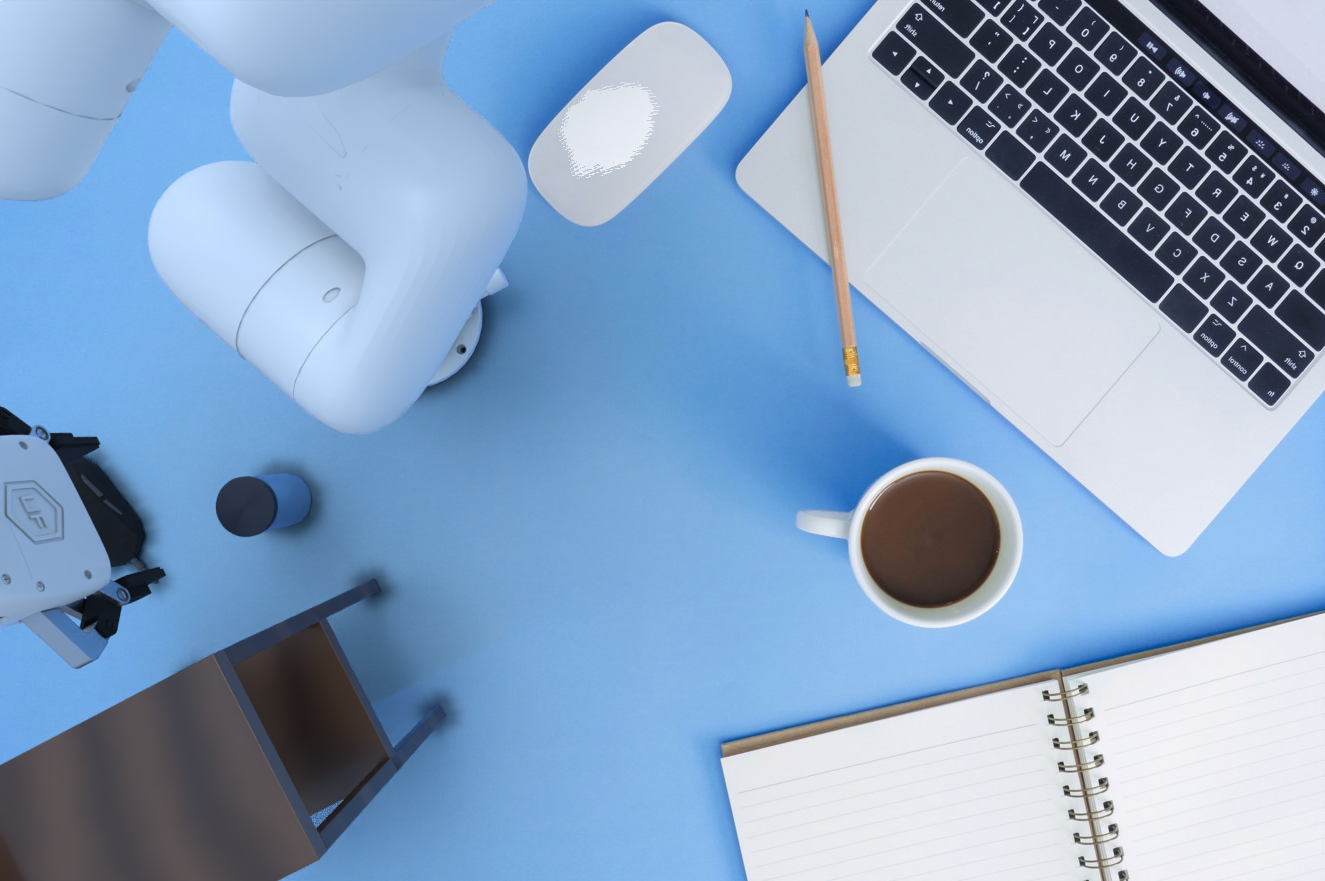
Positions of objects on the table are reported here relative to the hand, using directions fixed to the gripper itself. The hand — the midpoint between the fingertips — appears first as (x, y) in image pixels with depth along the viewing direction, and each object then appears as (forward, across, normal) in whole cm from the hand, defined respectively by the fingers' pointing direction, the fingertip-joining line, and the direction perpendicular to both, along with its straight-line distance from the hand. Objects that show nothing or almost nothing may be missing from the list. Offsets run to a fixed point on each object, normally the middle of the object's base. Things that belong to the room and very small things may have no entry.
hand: (113, 516), depth 59 cm
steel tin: (+21, -1, -1) cm, 21 cm away
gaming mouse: (+21, +4, +15) cm, 26 cm away
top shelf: (-4, -18, +5) cm, 19 cm away
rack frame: (+21, -18, +4) cm, 28 cm away
